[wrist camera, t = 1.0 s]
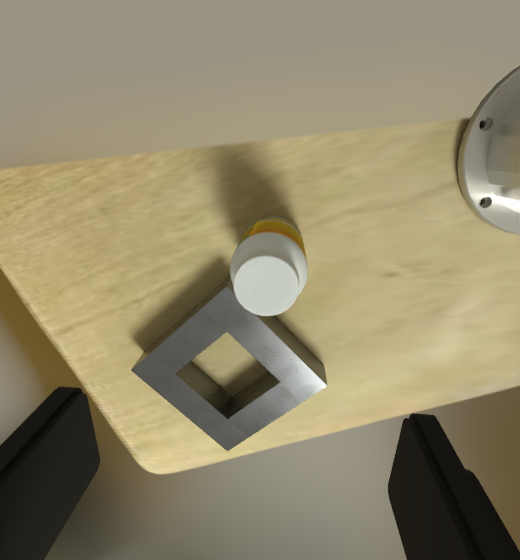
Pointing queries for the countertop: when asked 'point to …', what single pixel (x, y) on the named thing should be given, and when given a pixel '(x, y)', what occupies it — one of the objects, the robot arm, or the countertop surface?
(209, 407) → the square hole block
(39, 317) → the countertop surface
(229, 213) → the countertop surface
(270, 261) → the supplement bottle
